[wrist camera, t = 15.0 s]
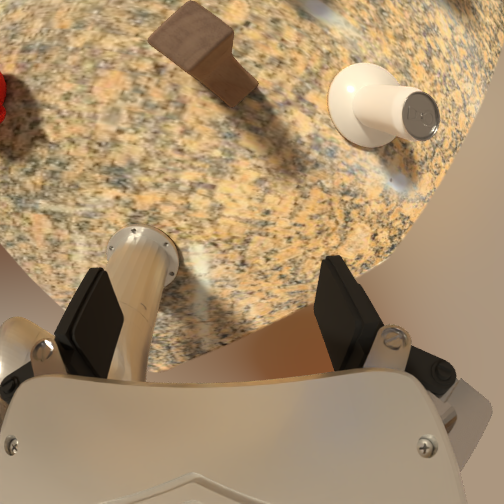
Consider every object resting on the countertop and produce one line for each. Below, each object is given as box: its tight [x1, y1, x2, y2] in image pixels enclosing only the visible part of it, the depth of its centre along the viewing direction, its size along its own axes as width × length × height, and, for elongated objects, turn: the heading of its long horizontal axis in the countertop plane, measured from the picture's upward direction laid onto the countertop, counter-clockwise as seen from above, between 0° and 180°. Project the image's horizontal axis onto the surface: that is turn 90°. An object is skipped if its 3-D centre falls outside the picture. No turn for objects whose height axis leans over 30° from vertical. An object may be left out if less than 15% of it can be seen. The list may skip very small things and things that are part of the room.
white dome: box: [327, 63, 400, 148], centre depth 32 cm, size 13×13×1 cm
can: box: [353, 85, 440, 141], centre depth 27 cm, size 6×6×12 cm
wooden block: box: [147, 0, 259, 108], centre depth 22 cm, size 9×4×18 cm, turn 45°
